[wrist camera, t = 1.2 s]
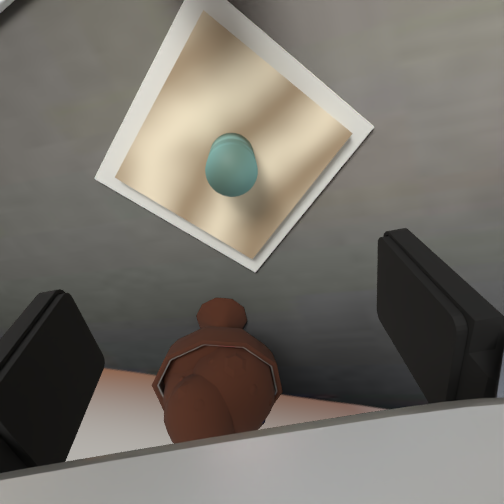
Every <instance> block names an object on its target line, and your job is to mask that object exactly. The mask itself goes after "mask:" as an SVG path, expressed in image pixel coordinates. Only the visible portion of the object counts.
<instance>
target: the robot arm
mask: <svg viewBox="0 0 504 504" xmlns="http://www.w3.org/2000/svg"><path fill="white" fill-rule="evenodd" d="M377 313H378V317H379V320H380V322H381V323H382V325H383V327H384V328H385V330H386V332H387V333H388V335H389V337H390V338H391V340H392V342H393V343H394V345H395V347H396V348H397V350H398V352H399V353H400V355H401V357H402V359H403V360H404V362H405V364H406V365H407V367H408V369H409V370H410V372H411V374H412V375H413V377H414V379H415V380H416V382H417V384H418V385H419V387H420V389H421V390H422V392H423V394H424V395H425V397H426V399H427V400H428V402H429V404H425V405H418V406H411V407H404V408H397V409H389V410H382V411H375V412H369V413H362V414H356V415H350V416H344V417H337V418H331V419H324V420H318V421H312V422H305V423H299V424H292V425H286V426H280V427H273V428H267V429H261V430H254V431H248V432H242V433H236V434H230V435H224V436H218V437H211V438H205V439H199V440H193V441H187V442H181V443H175V444H169V445H163V446H157V447H150V448H144V449H138V450H132V451H127V452H120V453H115V454H108V455H103V456H97V457H91V458H85V459H79V460H73V461H67V462H65V461H66V458H67V456H68V453H69V451H70V449H71V446H72V444H73V441H74V439H75V437H76V434H77V432H78V429H79V427H80V424H81V422H82V420H83V417H84V415H85V412H86V410H87V408H88V405H89V403H90V400H91V398H92V395H93V393H94V390H95V388H96V386H97V383H98V381H99V378H100V376H101V373H102V371H103V369H104V364H105V362H104V357H103V354H102V352H101V350H100V349H99V347H98V345H97V343H96V341H95V339H94V337H93V335H92V334H91V332H90V330H89V328H88V326H87V324H86V322H85V320H84V318H83V317H82V315H81V313H80V311H79V309H78V307H77V305H76V303H75V302H74V300H73V298H72V296H71V295H70V294H69V293H65V292H64V291H63V290H60V289H59V290H54V291H48V292H42V293H39V294H38V295H37V296H36V297H35V298H34V300H33V301H32V302H31V303H30V304H29V306H28V307H27V308H26V309H25V310H24V312H23V313H22V314H21V315H20V316H19V318H18V319H17V320H16V321H15V322H14V324H13V325H12V326H11V327H10V328H9V329H8V331H7V332H6V333H5V334H4V335H3V337H2V338H1V339H0V504H504V316H503V315H502V314H501V313H500V312H499V311H498V310H496V309H495V308H494V307H493V306H492V305H491V304H490V303H489V302H488V301H487V300H485V299H484V298H483V297H482V296H481V295H480V294H479V293H478V292H477V291H475V290H474V289H473V288H472V287H471V286H470V285H469V284H468V283H467V282H466V281H464V280H463V279H462V278H461V277H460V276H459V275H458V274H457V273H456V272H454V271H453V270H452V269H451V268H450V267H449V266H448V265H447V264H446V263H445V262H443V261H442V260H441V259H440V258H439V257H438V256H437V255H436V254H435V253H433V252H432V251H431V250H430V249H429V248H428V247H427V246H426V245H425V244H424V243H422V242H421V241H420V240H419V239H418V238H417V237H416V236H415V235H414V234H412V233H411V232H410V231H409V230H408V229H406V228H403V229H397V230H392V231H386V232H385V233H384V237H380V238H379V240H378V270H377Z"/></svg>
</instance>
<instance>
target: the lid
mask: <svg viewBox="0 0 504 504" xmlns="http://www.w3.org/2000/svg"><path fill="white" fill-rule="evenodd" d="M352 134H353V133H351V132H350V131H349V130H348V129H347V128H345V127H344V126H343V125H342V124H341V123H339V122H338V121H337V120H336V119H335V118H333V117H332V116H331V115H330V114H329V113H327V112H326V111H325V110H324V109H322V108H321V107H320V106H319V105H318V104H316V103H315V102H314V101H313V100H312V99H310V98H309V97H308V96H307V95H306V94H304V93H303V92H302V91H301V90H299V89H298V88H297V87H296V86H295V85H293V84H292V83H291V82H290V81H289V80H287V79H286V78H285V77H284V76H283V75H281V74H280V73H279V72H278V71H277V70H275V69H274V68H273V67H272V66H270V65H269V64H268V63H267V62H266V61H264V60H263V59H262V58H261V57H260V56H258V55H257V54H256V53H255V52H254V51H252V50H251V49H250V48H249V47H247V46H246V45H245V44H244V43H243V42H241V41H240V40H239V39H238V38H237V37H235V36H234V35H233V34H232V33H231V32H229V31H228V30H227V29H226V28H225V27H223V26H222V25H221V24H220V23H218V22H217V21H216V20H215V19H214V18H212V17H211V16H210V15H209V14H208V13H206V12H205V11H204V10H203V12H202V13H201V15H200V17H199V19H198V21H197V23H196V25H195V27H194V29H193V30H192V32H191V34H190V36H189V38H188V40H187V42H186V44H185V46H184V47H183V49H182V51H181V53H180V55H179V57H178V59H177V61H176V63H175V64H174V66H173V68H172V70H171V72H170V74H169V76H168V78H167V79H166V81H165V83H164V85H163V87H162V89H161V91H160V93H159V95H158V96H157V98H156V100H155V102H154V104H153V106H152V108H151V110H150V112H149V113H148V115H147V117H146V119H145V121H144V123H143V125H142V127H141V128H140V130H139V132H138V134H137V136H136V138H135V140H134V142H133V144H132V145H131V147H130V149H129V151H128V153H127V155H126V157H125V159H124V161H123V162H122V164H121V166H120V168H119V170H118V172H117V174H116V176H115V178H116V179H118V180H120V181H121V182H123V183H125V184H126V185H128V186H130V187H131V188H133V189H135V190H136V191H138V192H140V193H142V194H143V195H145V196H147V197H148V198H150V199H152V200H153V201H155V202H157V203H158V204H160V205H162V206H163V207H165V208H167V209H168V210H170V211H172V212H173V213H175V214H177V215H178V216H180V217H182V218H184V219H185V220H187V221H189V222H190V223H192V224H194V225H195V226H197V227H199V228H200V229H202V230H204V231H205V232H207V233H209V234H210V235H212V236H214V237H215V238H217V239H219V240H221V241H222V242H224V243H226V244H227V245H229V246H231V247H232V248H234V249H236V250H237V251H239V252H241V253H242V254H244V255H246V256H247V257H249V258H251V259H253V258H254V257H255V255H256V254H257V253H258V252H259V250H260V249H261V248H262V247H263V245H264V244H265V243H266V242H267V240H268V239H269V238H270V237H271V235H272V234H273V233H274V232H275V230H276V229H277V228H278V227H279V225H280V224H281V223H282V221H283V220H284V219H285V218H286V216H287V215H288V214H289V213H290V211H291V210H292V209H293V208H294V206H295V205H296V204H297V203H298V201H299V200H300V199H301V198H302V196H303V195H304V194H305V193H306V191H307V190H308V189H309V188H310V186H311V185H312V184H313V183H314V181H315V180H316V179H317V178H318V176H319V175H320V174H321V173H322V171H323V170H324V169H325V168H326V166H327V165H328V164H329V162H330V161H331V160H332V159H333V157H334V156H335V155H336V154H337V152H338V151H339V150H340V149H341V147H342V146H343V145H344V144H345V142H346V141H347V140H348V139H349V137H350V136H351V135H352Z"/></svg>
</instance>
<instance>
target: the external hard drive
mask: <svg viewBox="0 0 504 504" xmlns="http://www.w3.org/2000/svg"><path fill="white" fill-rule="evenodd" d="M13 1H15V0H0V13H1V12H2V11H3V10H4V9H5V8H7V7H8V6H9V5H10V4H11V3H12V2H13Z"/></svg>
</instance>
